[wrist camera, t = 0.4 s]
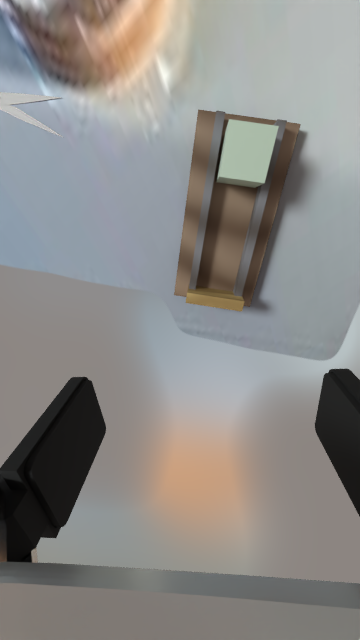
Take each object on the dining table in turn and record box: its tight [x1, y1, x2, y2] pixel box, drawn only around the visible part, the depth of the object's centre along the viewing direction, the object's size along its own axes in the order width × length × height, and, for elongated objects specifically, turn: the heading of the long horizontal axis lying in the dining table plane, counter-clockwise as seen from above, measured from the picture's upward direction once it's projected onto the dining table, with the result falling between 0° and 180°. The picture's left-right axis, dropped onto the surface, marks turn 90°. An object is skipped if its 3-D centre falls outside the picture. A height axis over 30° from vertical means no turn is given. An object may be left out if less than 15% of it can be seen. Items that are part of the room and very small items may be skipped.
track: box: [174, 110, 300, 311], centre depth 31 cm, size 23×12×6 cm, turn 172°
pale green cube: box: [216, 119, 279, 188], centre depth 27 cm, size 5×5×5 cm
